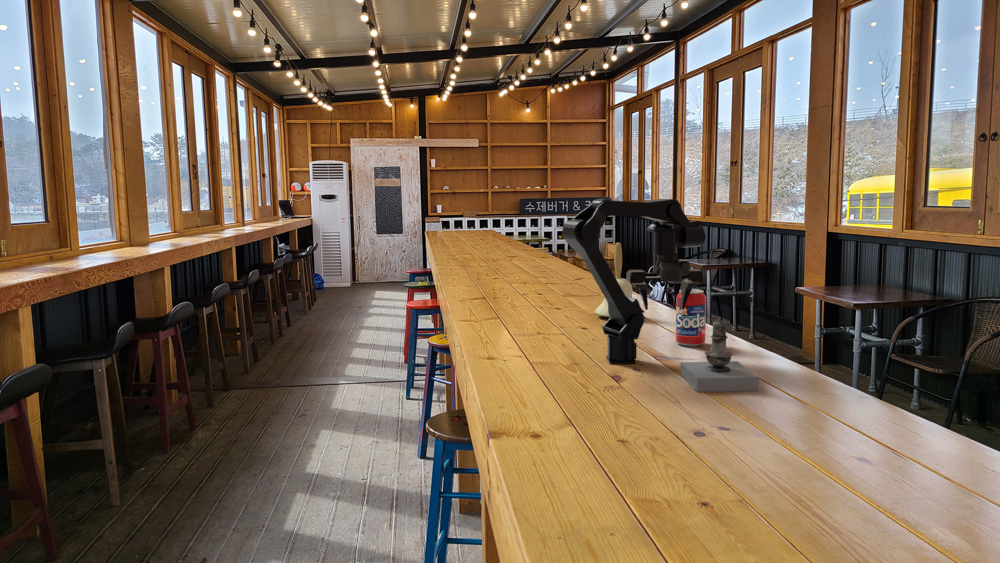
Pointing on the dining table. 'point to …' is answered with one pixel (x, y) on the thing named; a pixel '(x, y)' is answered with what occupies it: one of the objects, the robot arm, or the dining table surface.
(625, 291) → the handbell
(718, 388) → the riser
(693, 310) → the soda can
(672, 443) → the dining table surface
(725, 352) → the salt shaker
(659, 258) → the robot arm
